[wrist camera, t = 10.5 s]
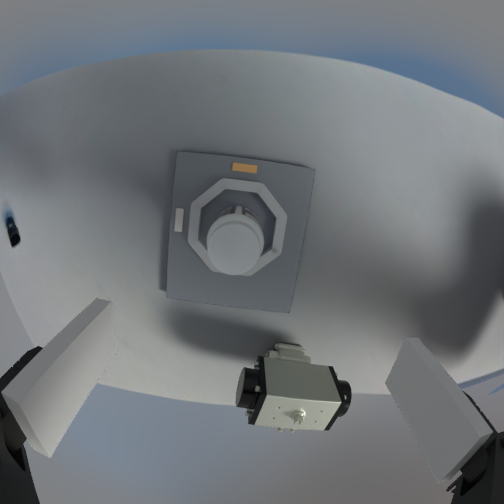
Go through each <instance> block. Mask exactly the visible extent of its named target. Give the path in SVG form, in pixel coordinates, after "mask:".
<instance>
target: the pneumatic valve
mask: <svg viewBox="0 0 504 504" xmlns="http://www.w3.org/2000/svg"><path fill="white" fill-rule="evenodd" d="M274 348H276V350H275V351H273V350H268V351H267V354H266V357H263V356H258V358H257V361H256V362H255V363H254V369H251V368H246V367H244V368H243V369H242V371H241V374H240V377H239V381H238V386H237V392H236V406H237V407H241V408H247V411H246V416H248V424H252V425H260V426H269V427H278V431H280V432H284V430H285V429H286V428H290V431H291V432H292V433H295V432H296V431H297V429H305V430H329V429H330V427H331V426H332V425H333V423H334V422H335V420H336V419H337V417H341V416H343V415H344V414H345V413H346V412H347V410H348V408H349V406H350V403H351V387H350V385H349V383H348V382H347V381H344V380H338V378H337V373H335V371H334V368H333V367H332V366H324V365H315V364H310V362H311V360H310V357H309V356H304V354H303V353H304V352H305V349H304V348H302V346H296V345H290V344H284V343H277V344H275V346H274Z"/></svg>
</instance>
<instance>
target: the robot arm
mask: <svg viewBox="0 0 504 504" xmlns="http://www.w3.org/2000/svg"><path fill="white" fill-rule="evenodd" d="M115 355H116V345H115V336H114V326H113V314H112V302H111V301H106V300H102V299H98V298H96V299H95V300H94V301H93V302H92V303H91V304H90V305H89V306H88V307H86V308H85V309H84V310H83V311H82V312H81V313H80V314H79V315H78V316H77V317H75V318H74V319H73V320H72V321H71V322H70V323H69V324H68V325H67V326H66V327H65V328H64V329H63V330H62V331H61V332H59V333H58V334H57V335H56V336H55V337H54V338H53V339H52V340H51V341H50V342H49V343H48V344H47V345H46V346H45V347H44V348H42V347H39V346H38V347H36V348H33V349H31V350H29V351H27V352H26V353H25V354H24V355H23V356H22V357H21V358H20V360H19V361H17V362H16V363H15V364H14V365H13V367H11V368H10V369H9V370H8V371H7V372H6V373H5V374H4V375H3V376H2V377H1V378H0V504H40V502H39V499H38V496H37V493H36V490H35V487H34V483H33V480H32V476H31V472H30V468H29V463H28V459H27V455H26V450H25V448H24V445H23V443H24V442H25V441H26V439H27V440H28V442H29V443H30V445H31V446H32V448H33V449H35V450H37V451H38V452H40V453H42V454H43V455H45V456H47V457H49V458H50V457H51V456H52V454H53V452H54V451H55V449H56V447H57V446H58V444H59V442H60V440H61V439H62V437H63V435H64V434H65V432H66V431H67V429H68V427H69V426H70V424H71V422H72V421H73V419H74V417H75V416H76V414H77V413H78V411H79V409H80V408H81V406H82V404H83V403H84V402H85V400H86V399H87V397H88V395H89V394H90V392H91V391H92V389H93V388H94V386H95V385H96V383H97V382H98V380H99V379H100V377H101V376H102V374H103V373H104V371H105V370H106V368H107V367H108V365H109V364H110V362H111V361H112V359H113V358H114V356H115ZM385 384H386V386H387V387H388V389H389V391H390V393H391V395H392V396H393V398H394V400H395V402H396V404H397V405H398V407H399V409H400V411H401V413H402V415H403V417H404V419H405V421H406V423H407V425H408V426H409V428H410V430H411V432H412V434H413V436H414V438H415V440H416V442H417V444H418V446H419V448H420V450H421V452H422V454H423V456H424V458H425V460H426V462H427V464H428V466H429V469H430V470H431V473H432V475H433V477H434V479H435V481H436V483H437V484H438V483H441V482H444V481H446V480H449V479H451V478H452V477H453V476H454V475H455V474H456V473H457V472H458V471H459V470H461V472H462V475H461V476H460V477H459V478H457V480H455V481H454V482H453V483H452V484H451V485H450V486H449V487H448V489H447V490H446V491H449V490H450V489H452V488H453V487H454V486H455V485H456V488H455V489H454V490H452V493H454V495H453V499H452V502H451V504H504V432H500V433H499V434H498V433H497V431H496V430H495V429H494V427H493V426H492V425H491V423H490V422H489V420H488V419H487V418H486V416H485V415H484V414H483V413H482V412H480V408H479V407H478V406H476V403H475V402H474V401H473V399H472V398H471V397H470V396H469V395H468V394H466V393H465V392H464V391H462V390H461V389H460V387H459V386H458V385H457V384H456V382H455V381H454V380H453V379H452V377H451V376H450V375H449V374H448V373H447V371H446V370H445V369H444V368H443V367H442V365H441V364H440V363H439V362H438V361H437V359H436V358H435V357H434V356H433V355H432V353H431V352H430V351H429V350H428V349H427V348H426V347H425V345H424V344H423V343H422V342H421V341H420V340H419V338H405V340H404V343H403V345H402V347H401V350H400V352H399V354H398V356H397V359H396V361H395V363H394V365H393V367H392V370H391V372H390V374H389V376H388V378H387V380H386V382H385Z"/></svg>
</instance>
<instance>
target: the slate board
mask: <svg viewBox="0 0 504 504" xmlns="http://www.w3.org/2000/svg"><path fill="white" fill-rule="evenodd" d="M314 174H315V169H312V168H307V167H301V166H295V165H289V164H283V163H277V162H270V161H263V160H256V159H249V158H241V157H232V156H224V155H214V154H204V153H192V152H179V151H177V158H176V166H175V174H174V184H173V193H172V204H171V216H170V229H169V245H168V265H167V298H172V299H179V300H186V301H192V302H199V303H206V304H214V305H221V306H229V307H237V308H246V309H254V310H263V311H273V312H283V313H289V312H290V307H291V302H292V297H293V293H294V288H295V283H296V278H297V273H298V267H299V262H300V257H301V252H302V246H303V241H304V235H305V229H306V224H307V218H308V212H309V206H310V200H311V194H312V187H313V181H314ZM232 206H242V207H246V208H248V209H250V210H251V211H253V212H254V213H255V215H256V216H257V217H258V219H259V222H260V225H261V228H262V232H263V236H264V247H263V251H262V253H261V255H260V258H259V260H258V262H257V264H256V265H255V266H254V267H253V268H252V269H251V270H250V271H248V272H246V273H244V274H240V275H228V274H225V273H222V272H221V271H219V270H217V269H216V268H215V267H214V266H213V264H212V263H211V261H210V259H209V256H208V251H207V234H208V231H209V229H210V227H211V225H212V224H213V222H214V221H215V219H216V218H217V216H218V215H219V214H220V213H221V212H222V211H223V210H225V209H226V208H228V207H232Z"/></svg>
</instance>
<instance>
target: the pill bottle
mask: <svg viewBox="0 0 504 504" xmlns="http://www.w3.org/2000/svg"><path fill="white" fill-rule="evenodd" d="M263 247H264V236H263V232H262V228H261V225H260V222H259V219H258V217H257V216H256V215H255V213H254V212H253V211H251V210H250V209H248V208H246V207H242V206H232V207H228V208H226V209H225V210H223V211H222V212H221V213H220V214H219V215H218V216H217V218H216V219H215V221H214V222H213V224H212V225H211V227H210V229H209V231H208V234H207V251H208V256H209V259H210V261H211V263H212V264H213V266H214V267H215V268H216V269H217V270H219V271H221V272H222V273H225V274H228V275H240V274H244V273H246V272H248V271H250V270H251V269H252V268H253V267H254V266H255V265H256V264H257V262H258V260H259V258H260V255H261V253H262V251H263Z"/></svg>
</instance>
